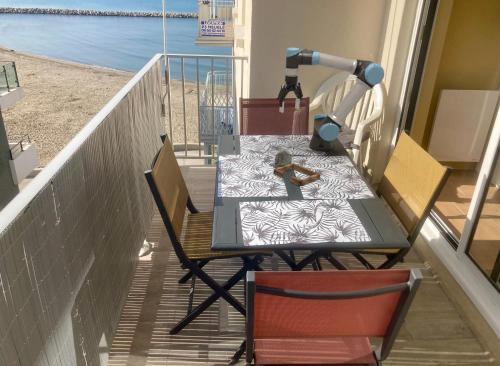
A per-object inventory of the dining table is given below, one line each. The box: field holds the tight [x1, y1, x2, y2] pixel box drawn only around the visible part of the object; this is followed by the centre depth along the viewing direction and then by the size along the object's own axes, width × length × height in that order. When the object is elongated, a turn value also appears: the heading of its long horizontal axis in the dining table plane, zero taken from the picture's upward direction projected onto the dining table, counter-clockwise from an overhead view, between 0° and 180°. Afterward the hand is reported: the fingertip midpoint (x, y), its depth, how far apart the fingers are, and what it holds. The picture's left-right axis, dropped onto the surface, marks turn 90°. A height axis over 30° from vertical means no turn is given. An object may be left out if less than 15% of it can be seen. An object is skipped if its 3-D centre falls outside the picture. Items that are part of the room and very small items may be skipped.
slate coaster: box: [268, 162, 283, 169], centre depth 248 cm, size 11×11×1 cm
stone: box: [273, 149, 292, 167], centre depth 247 cm, size 10×10×10 cm
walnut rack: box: [272, 162, 322, 187], centre depth 233 cm, size 16×21×3 cm
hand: (289, 110), depth 254 cm, fingers open, 13 cm apart
